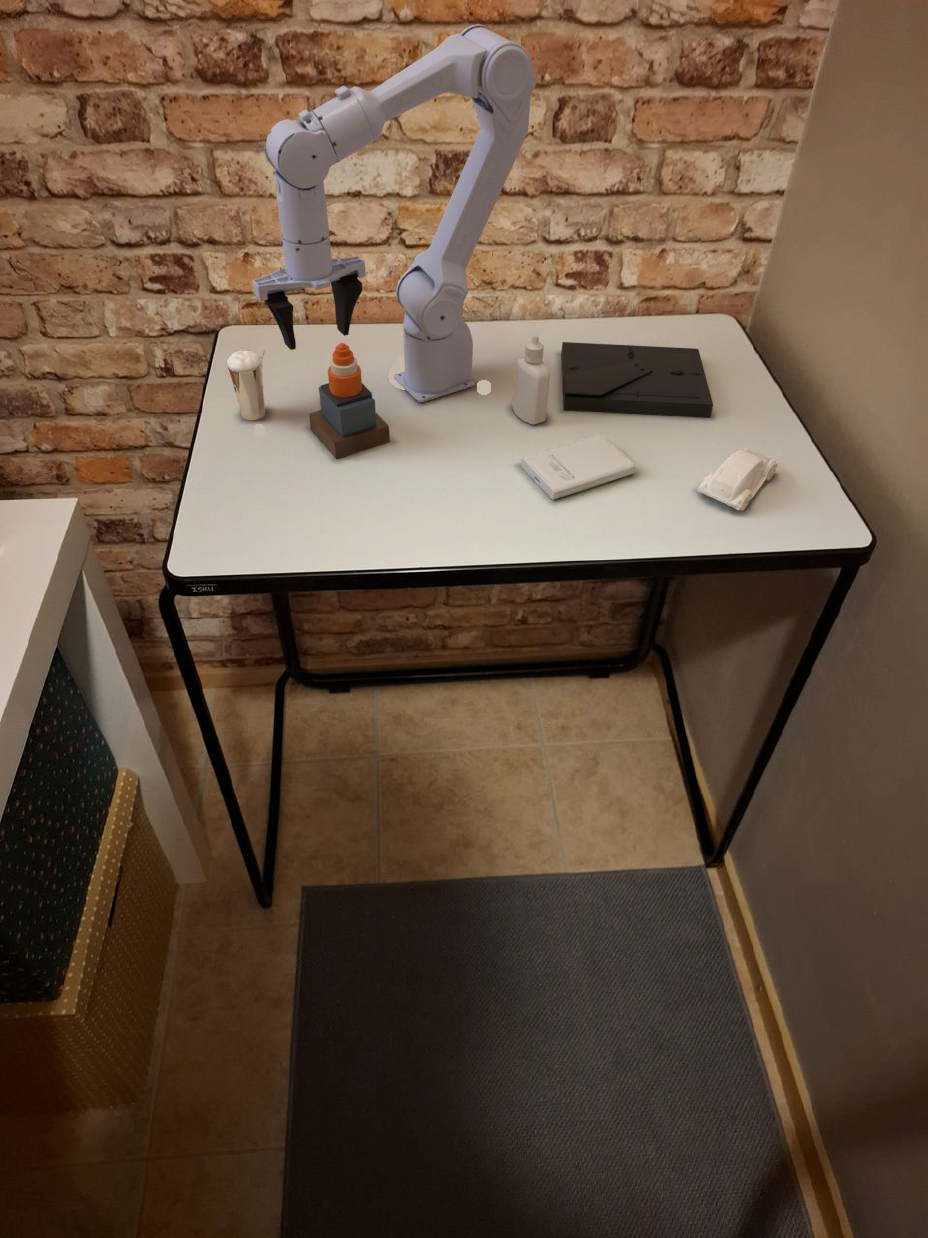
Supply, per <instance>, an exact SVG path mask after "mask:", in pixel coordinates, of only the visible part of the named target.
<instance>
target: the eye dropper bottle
mask: <svg viewBox="0 0 928 1238" xmlns="http://www.w3.org/2000/svg"><path fill="white" fill-rule="evenodd" d="M544 348H545V346H544V344H543V343H542V342H541V341H540V340H539V335H538V334H536V333H535V334H533V335H532V337H531V340H530V341H528V342H526V343H525V347H524V355H523V356H521V357H519V358H518V359H516V361H515V365H514V377H513V388H512V389H513V391H512V404H511V406H512V411H513V412H514V414H515V415H516V417H518V418H519V419H520V420H521V421H523V422H525V423H527V424H529V425H538V424H540V423H544V422H545V421H546V418H547V417H546V416H547V410H548V400H549V392H550V391H549V390H550V381H551V380H550V378H551V374H550V370H549V368H548V366H547V364H546V362H544V359H543V358H544V351H545V350H544Z"/></svg>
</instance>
